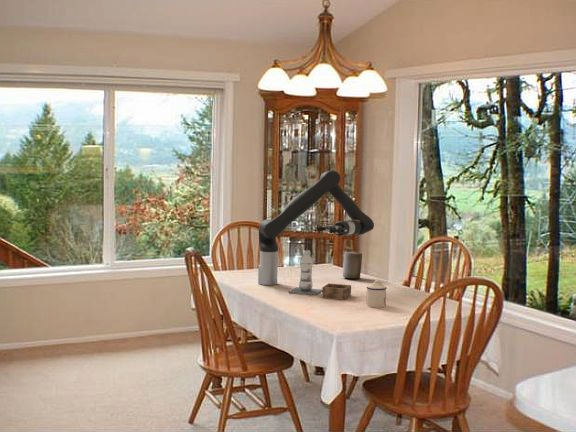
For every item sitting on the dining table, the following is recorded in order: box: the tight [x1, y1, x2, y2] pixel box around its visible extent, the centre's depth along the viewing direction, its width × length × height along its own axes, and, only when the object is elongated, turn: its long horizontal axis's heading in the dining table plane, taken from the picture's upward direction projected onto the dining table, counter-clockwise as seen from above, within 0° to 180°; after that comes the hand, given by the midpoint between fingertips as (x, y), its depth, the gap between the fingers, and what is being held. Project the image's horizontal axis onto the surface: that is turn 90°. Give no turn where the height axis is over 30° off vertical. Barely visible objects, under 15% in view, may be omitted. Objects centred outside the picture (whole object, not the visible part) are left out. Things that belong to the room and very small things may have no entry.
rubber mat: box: [287, 286, 322, 296], centre depth 352 cm, size 14×12×1 cm
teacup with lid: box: [366, 279, 388, 309], centre depth 326 cm, size 12×9×12 cm
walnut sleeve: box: [321, 282, 352, 301], centre depth 343 cm, size 11×10×5 cm
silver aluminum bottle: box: [298, 249, 314, 291], centre depth 351 cm, size 6×7×20 cm
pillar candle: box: [342, 251, 363, 279], centre depth 388 cm, size 10×10×15 cm
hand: (323, 230), depth 358 cm, fingers open, 8 cm apart
